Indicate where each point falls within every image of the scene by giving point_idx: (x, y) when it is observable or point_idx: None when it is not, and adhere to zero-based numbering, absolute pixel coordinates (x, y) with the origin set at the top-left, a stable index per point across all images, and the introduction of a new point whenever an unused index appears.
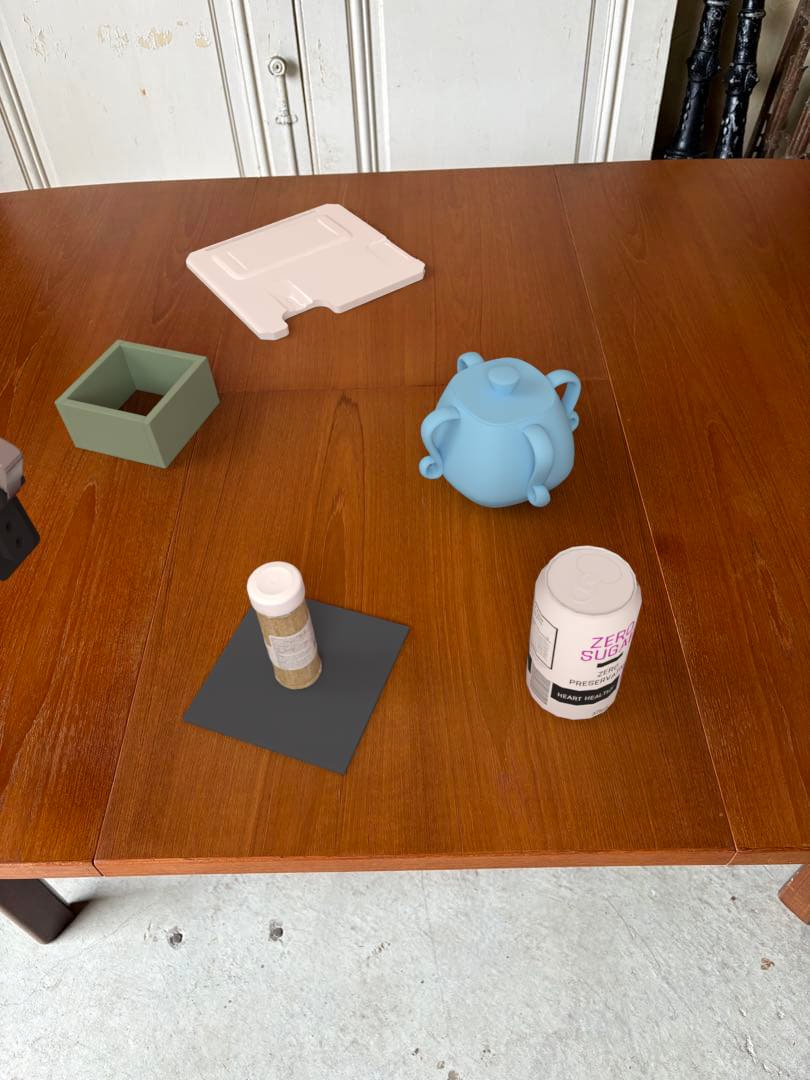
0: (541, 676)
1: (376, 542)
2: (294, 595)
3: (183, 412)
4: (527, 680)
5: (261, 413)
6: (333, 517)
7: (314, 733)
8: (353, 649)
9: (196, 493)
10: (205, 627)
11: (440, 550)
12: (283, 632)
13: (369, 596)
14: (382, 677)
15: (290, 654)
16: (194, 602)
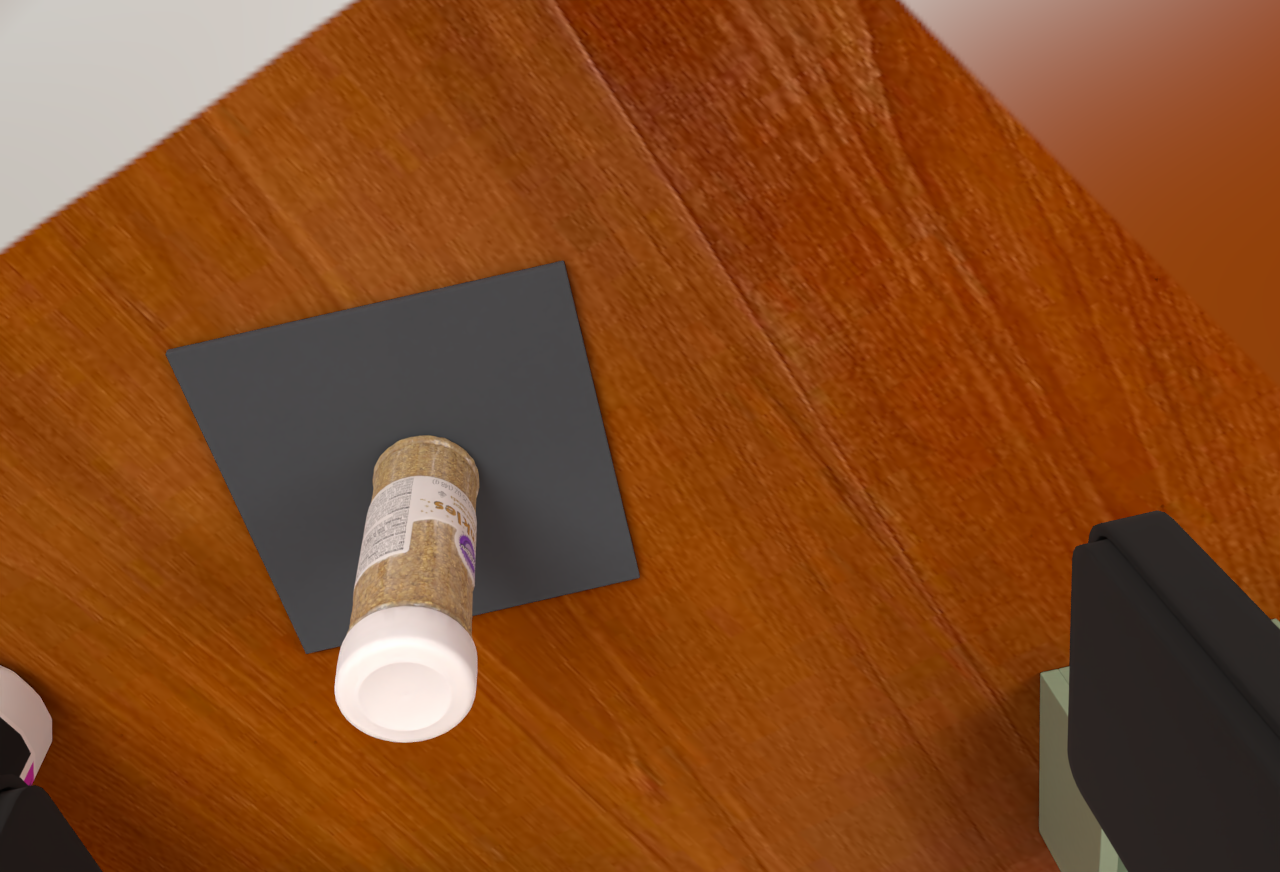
0: None
1: (509, 751)
2: (335, 690)
3: (1071, 804)
4: (7, 685)
5: (936, 849)
6: (628, 751)
7: (286, 388)
8: None
9: (935, 661)
10: (686, 447)
11: (386, 794)
12: (370, 577)
13: None
14: (266, 549)
15: (376, 524)
16: (751, 478)
